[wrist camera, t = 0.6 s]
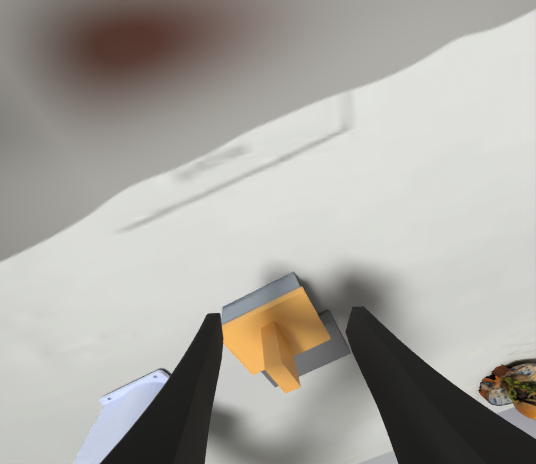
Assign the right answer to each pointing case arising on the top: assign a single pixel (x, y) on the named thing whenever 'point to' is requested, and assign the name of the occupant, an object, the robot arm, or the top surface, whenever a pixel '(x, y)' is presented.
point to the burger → (513, 388)
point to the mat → (319, 350)
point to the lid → (276, 337)
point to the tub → (259, 297)
